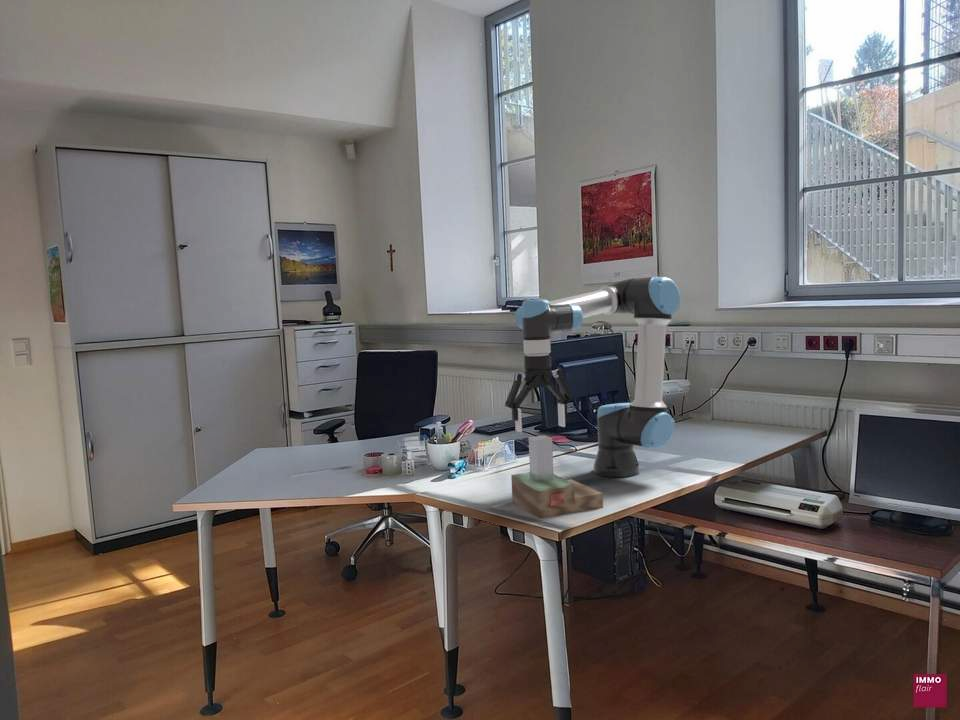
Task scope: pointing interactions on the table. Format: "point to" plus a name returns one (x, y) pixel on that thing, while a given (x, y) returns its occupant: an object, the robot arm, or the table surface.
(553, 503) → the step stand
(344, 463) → the table surface
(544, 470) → the steel column
